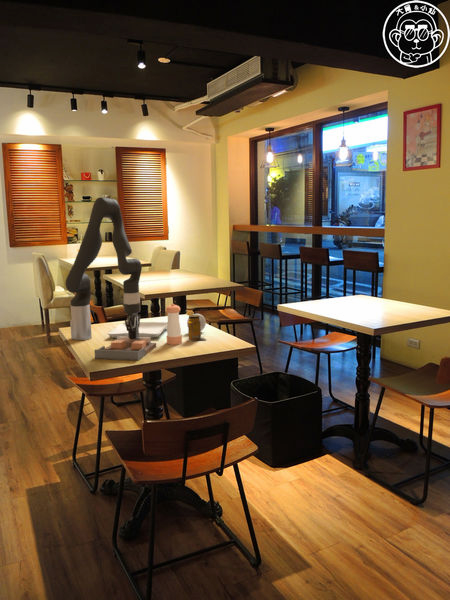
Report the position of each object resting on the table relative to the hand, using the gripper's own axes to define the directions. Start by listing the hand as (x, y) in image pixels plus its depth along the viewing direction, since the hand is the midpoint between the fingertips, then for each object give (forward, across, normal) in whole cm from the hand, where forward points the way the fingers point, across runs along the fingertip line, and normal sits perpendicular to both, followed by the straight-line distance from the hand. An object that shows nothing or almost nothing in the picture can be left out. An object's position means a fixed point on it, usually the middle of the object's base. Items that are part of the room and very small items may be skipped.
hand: (133, 338), depth 245 cm
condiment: (+5, -20, +25) cm, 32 cm away
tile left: (+3, +6, -5) cm, 9 cm away
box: (+5, +16, 0) cm, 17 cm away
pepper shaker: (+5, -12, +16) cm, 20 cm away
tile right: (+3, +6, +5) cm, 9 cm away
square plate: (+5, -28, -8) cm, 30 cm away
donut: (+5, -34, +21) cm, 41 cm away
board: (+5, +4, 0) cm, 6 cm away
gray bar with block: (+3, 0, 0) cm, 3 cm away
